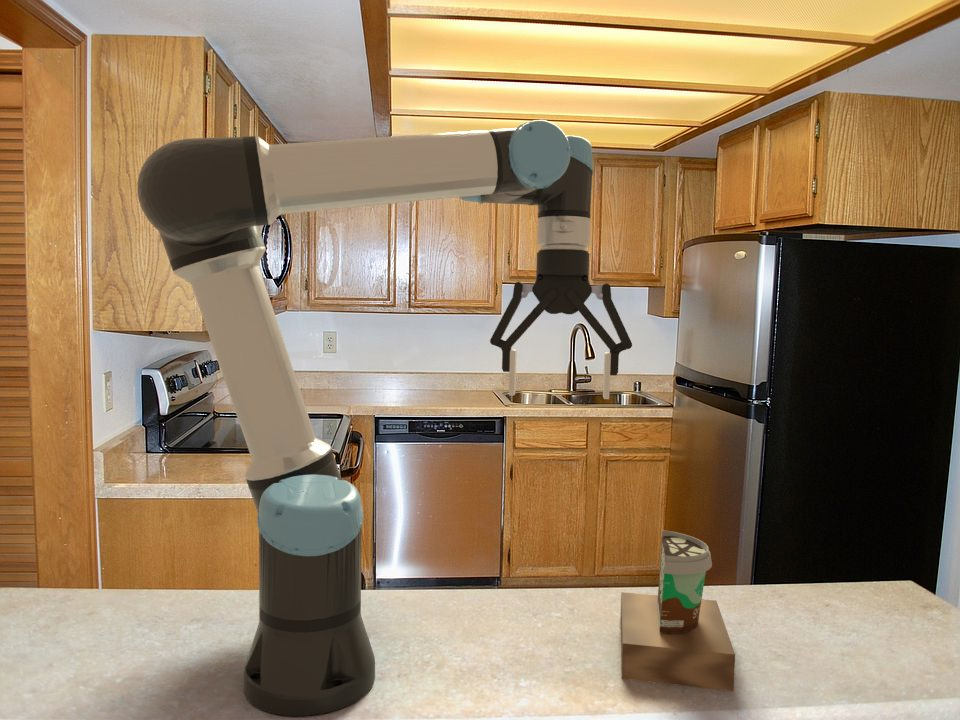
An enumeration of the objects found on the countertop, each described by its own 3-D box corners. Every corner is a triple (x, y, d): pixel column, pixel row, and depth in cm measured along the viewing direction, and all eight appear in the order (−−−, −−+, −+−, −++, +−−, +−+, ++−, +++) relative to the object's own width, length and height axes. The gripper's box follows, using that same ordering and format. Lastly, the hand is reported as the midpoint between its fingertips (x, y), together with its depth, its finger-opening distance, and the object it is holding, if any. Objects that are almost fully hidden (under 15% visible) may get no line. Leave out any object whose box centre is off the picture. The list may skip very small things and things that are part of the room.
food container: (712, 644, 88) (718, 563, 88) (659, 637, 90) (665, 557, 89) (703, 605, 101) (708, 534, 100) (657, 599, 102) (662, 529, 101)
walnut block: (621, 683, 89) (622, 643, 89) (620, 626, 105) (621, 592, 104) (733, 695, 87) (735, 654, 86) (714, 635, 102) (716, 600, 102)
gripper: (473, 246, 103) (470, 396, 104) (655, 248, 100) (648, 402, 102) (479, 249, 110) (476, 390, 112) (649, 252, 107) (643, 396, 109)
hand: (558, 396), depth 107 cm, fingers open, 13 cm apart
